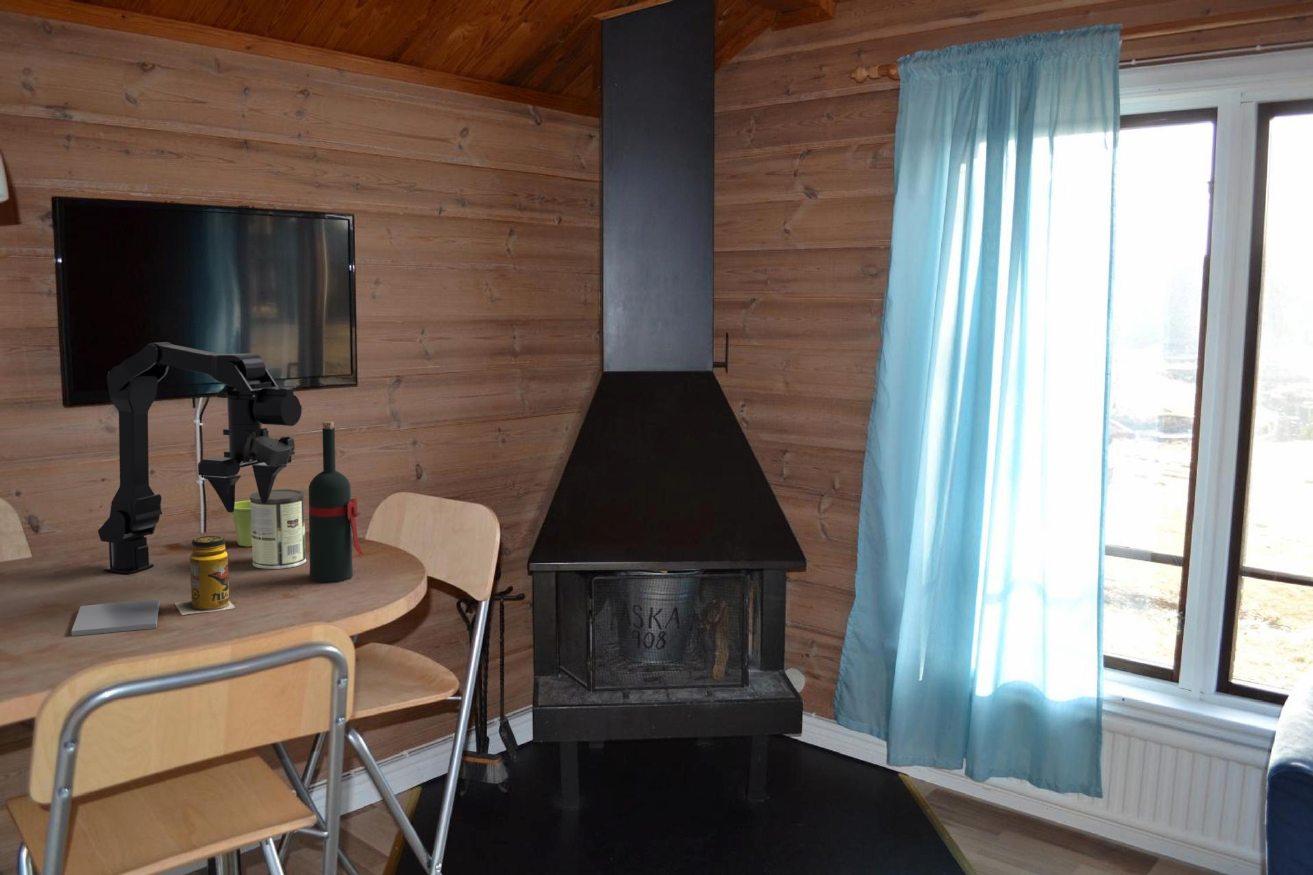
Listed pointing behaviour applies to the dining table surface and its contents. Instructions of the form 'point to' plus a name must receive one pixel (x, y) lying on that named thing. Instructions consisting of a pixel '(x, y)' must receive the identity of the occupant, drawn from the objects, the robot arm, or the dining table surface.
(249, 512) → the plant pot
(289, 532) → the coffee can
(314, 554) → the wine bottle
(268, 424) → the robot arm
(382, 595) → the dining table surface
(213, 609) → the condiment
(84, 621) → the board
